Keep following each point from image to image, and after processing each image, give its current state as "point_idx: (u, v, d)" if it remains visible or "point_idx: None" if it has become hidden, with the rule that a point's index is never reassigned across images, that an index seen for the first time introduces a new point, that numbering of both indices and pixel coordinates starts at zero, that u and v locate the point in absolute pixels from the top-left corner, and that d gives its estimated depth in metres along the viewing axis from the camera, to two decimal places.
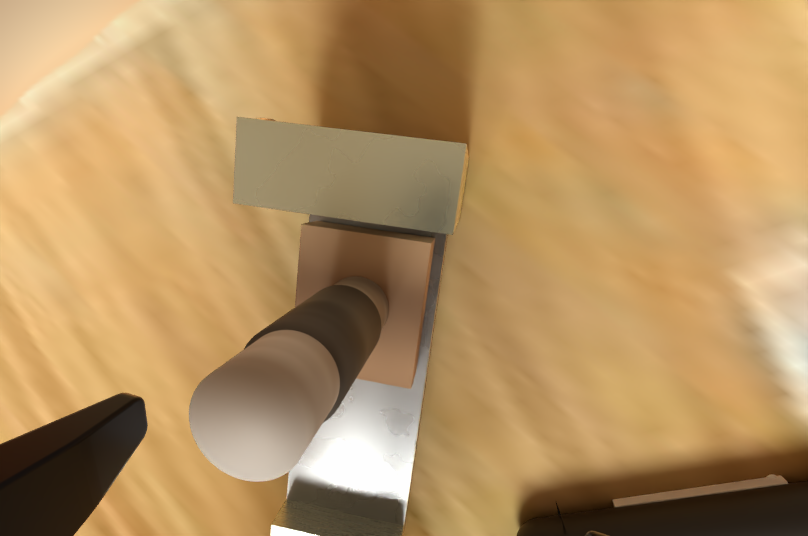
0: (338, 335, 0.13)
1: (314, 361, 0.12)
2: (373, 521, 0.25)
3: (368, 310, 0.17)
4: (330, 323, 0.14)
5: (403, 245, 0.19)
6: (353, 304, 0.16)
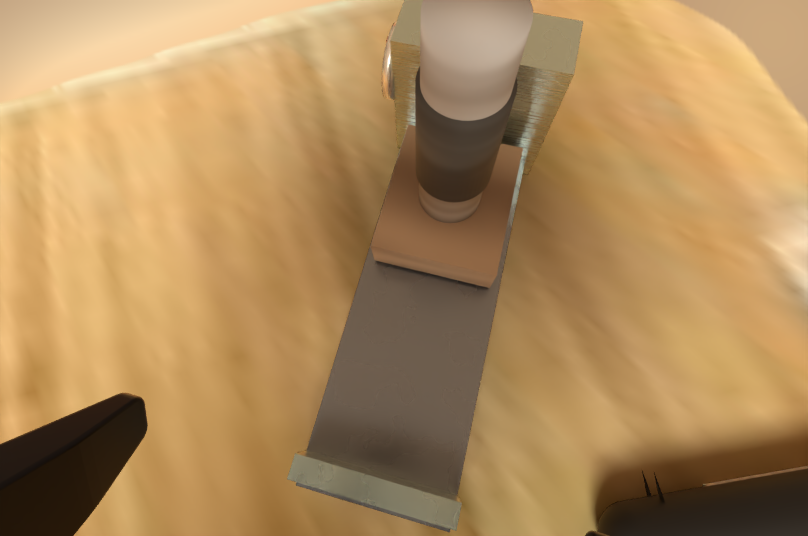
0: None
1: None
2: (419, 483, 0.19)
3: None
4: None
5: None
6: None
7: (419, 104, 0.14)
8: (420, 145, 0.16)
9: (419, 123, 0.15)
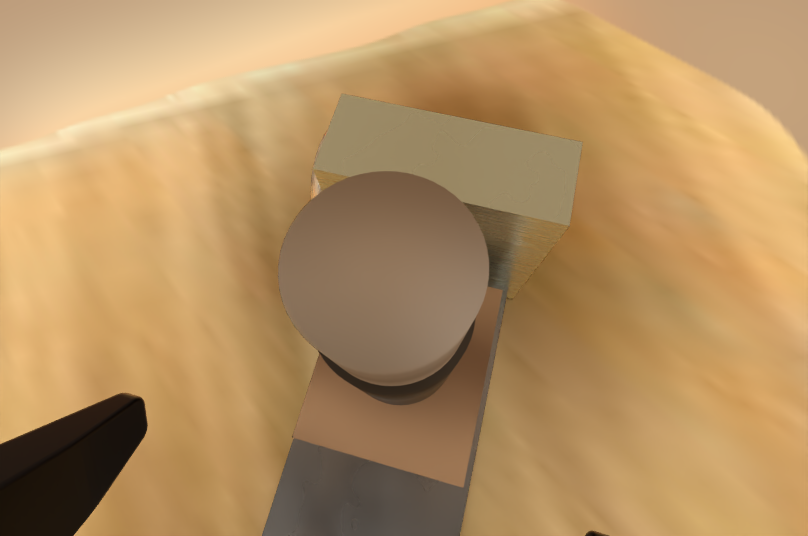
0: None
1: None
2: None
3: None
4: None
5: None
6: None
7: None
8: None
9: None
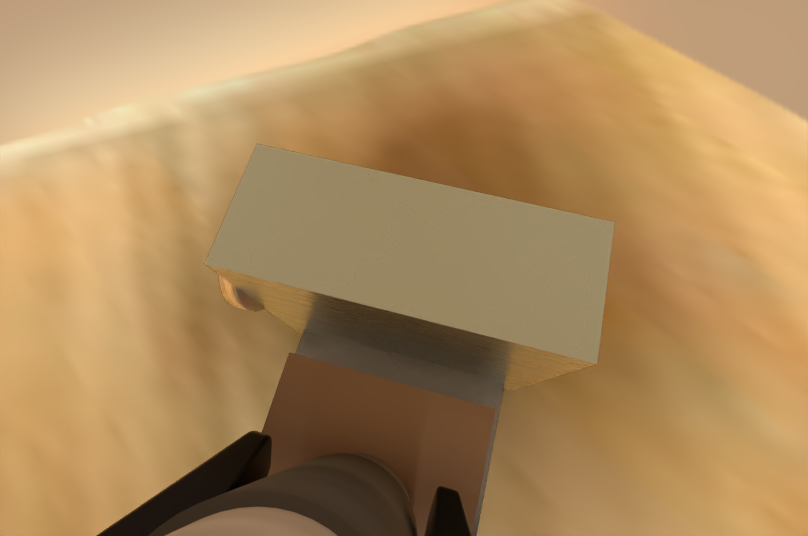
0: None
1: None
2: None
3: (408, 510, 0.08)
4: (372, 511, 0.05)
5: (450, 407, 0.12)
6: (388, 488, 0.08)
7: None
8: None
9: None
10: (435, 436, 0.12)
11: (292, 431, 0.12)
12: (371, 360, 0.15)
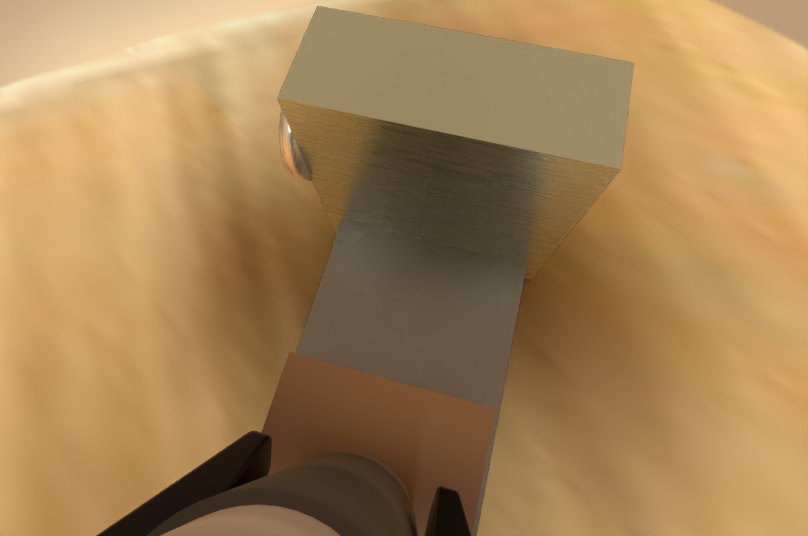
0: None
1: None
2: None
3: (408, 509, 0.08)
4: (372, 510, 0.05)
5: (450, 406, 0.12)
6: (388, 488, 0.08)
7: None
8: None
9: None
10: (435, 436, 0.12)
11: (292, 431, 0.12)
12: (404, 245, 0.16)
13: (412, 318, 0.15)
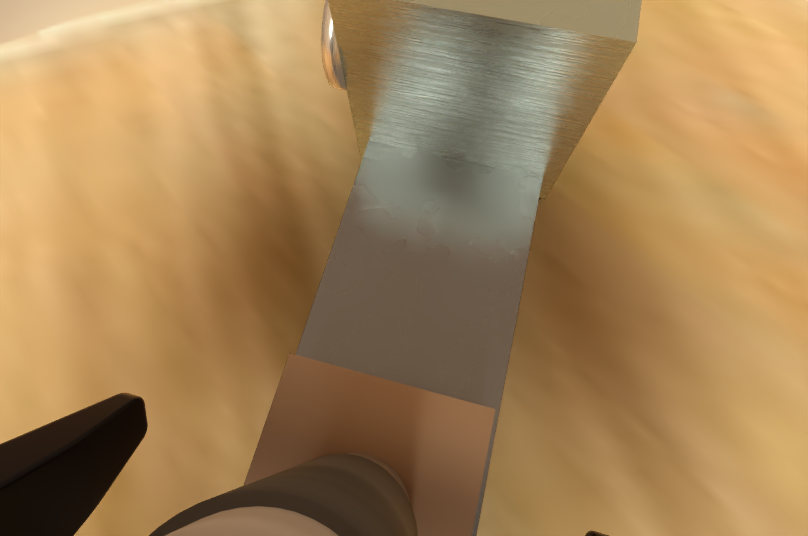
0: None
1: None
2: None
3: (408, 510, 0.08)
4: (372, 512, 0.05)
5: (449, 407, 0.12)
6: (388, 488, 0.08)
7: None
8: None
9: None
10: (435, 436, 0.12)
11: (292, 431, 0.12)
12: (428, 161, 0.17)
13: (437, 224, 0.16)
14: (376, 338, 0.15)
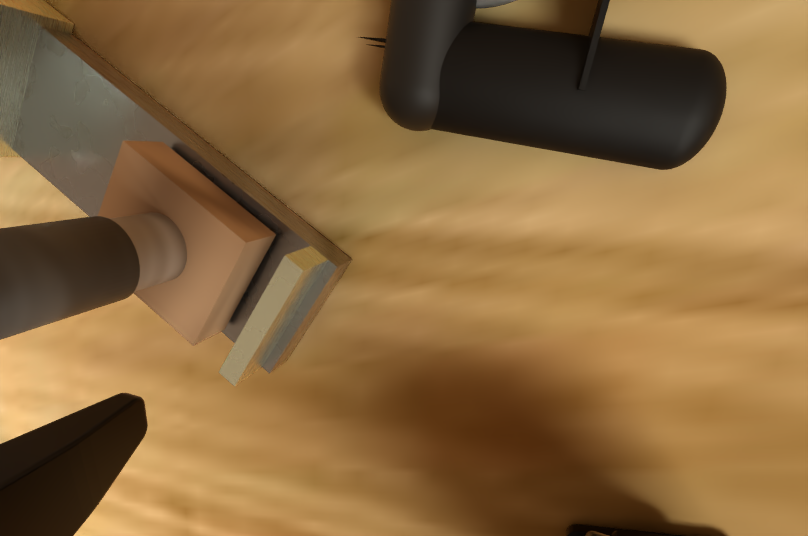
0: None
1: None
2: None
3: None
4: None
5: (119, 168, 0.19)
6: None
7: None
8: None
9: None
10: (131, 184, 0.19)
11: None
12: (26, 111, 0.23)
13: (64, 123, 0.22)
14: None
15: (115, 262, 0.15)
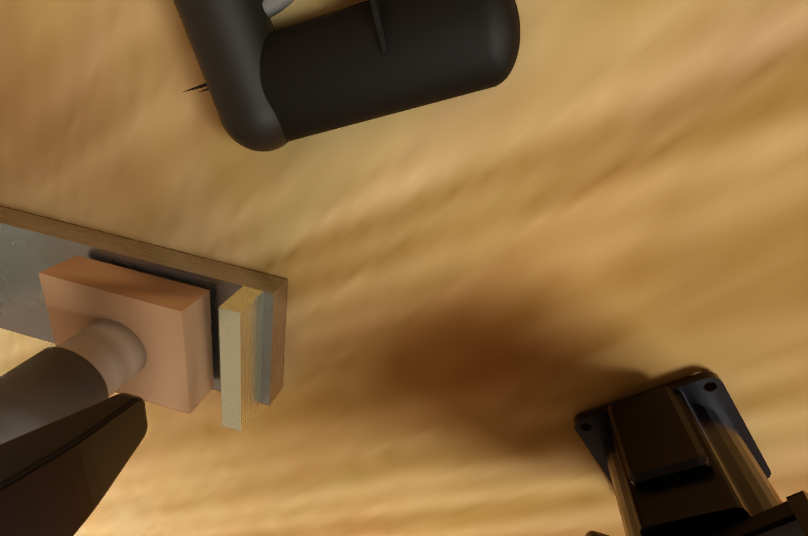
0: None
1: None
2: None
3: (20, 364, 0.17)
4: None
5: (49, 297, 0.20)
6: None
7: None
8: None
9: None
10: (66, 305, 0.20)
11: None
12: None
13: None
14: None
15: (75, 381, 0.17)
